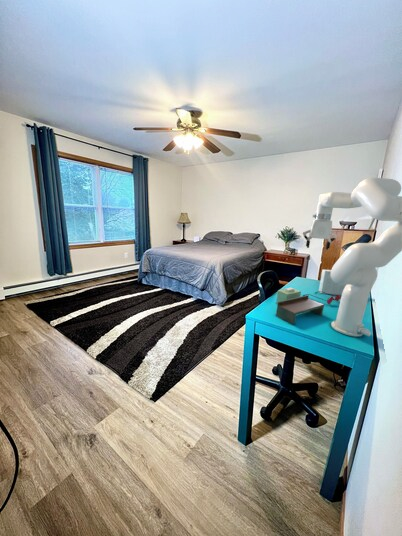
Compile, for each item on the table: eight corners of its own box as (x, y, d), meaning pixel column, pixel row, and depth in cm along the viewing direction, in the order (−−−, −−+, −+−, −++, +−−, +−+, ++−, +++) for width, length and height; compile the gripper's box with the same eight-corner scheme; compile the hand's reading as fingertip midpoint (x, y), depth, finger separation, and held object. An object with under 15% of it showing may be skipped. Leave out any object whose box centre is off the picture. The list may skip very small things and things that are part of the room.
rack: (322, 315, 114) (325, 301, 112) (292, 324, 102) (295, 309, 100) (305, 307, 122) (307, 295, 120) (275, 315, 110) (277, 301, 108)
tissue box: (298, 304, 126) (301, 289, 124) (285, 307, 120) (287, 292, 118) (289, 300, 132) (291, 285, 129) (275, 303, 126) (278, 288, 124)
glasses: (327, 306, 126) (329, 298, 125) (302, 296, 140) (303, 288, 138) (340, 302, 133) (342, 294, 132) (315, 293, 147) (316, 286, 145)
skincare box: (349, 293, 150) (354, 271, 146) (353, 296, 144) (359, 273, 140) (317, 290, 151) (322, 268, 147) (321, 293, 146) (325, 271, 142)
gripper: (306, 216, 117) (301, 247, 121) (343, 218, 112) (336, 251, 116) (304, 216, 124) (299, 246, 128) (339, 218, 119) (332, 249, 123)
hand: (317, 248), depth 122 cm, fingers open, 9 cm apart
